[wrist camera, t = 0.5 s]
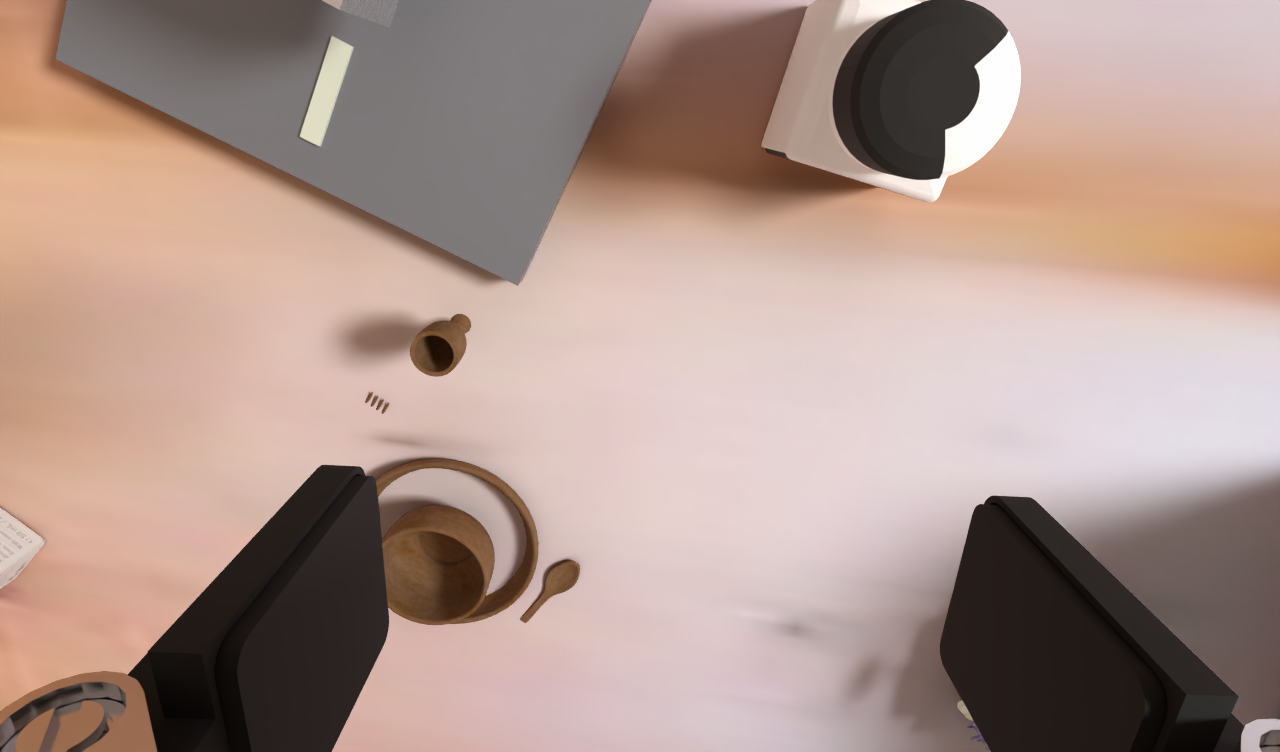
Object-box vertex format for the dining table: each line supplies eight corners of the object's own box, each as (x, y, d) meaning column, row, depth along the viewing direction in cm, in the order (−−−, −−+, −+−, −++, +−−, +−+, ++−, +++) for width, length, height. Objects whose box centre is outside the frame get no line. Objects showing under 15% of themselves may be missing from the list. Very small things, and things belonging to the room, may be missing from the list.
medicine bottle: (758, 149, 36) (810, 165, 25) (807, 2, 34) (889, -55, 22) (884, 189, 37) (990, 221, 26) (941, 47, 34) (1087, 13, 23)
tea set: (284, 521, 45) (233, 578, 39) (446, 282, 39) (414, 309, 34) (508, 652, 49) (491, 721, 43) (686, 450, 43) (693, 500, 37)
